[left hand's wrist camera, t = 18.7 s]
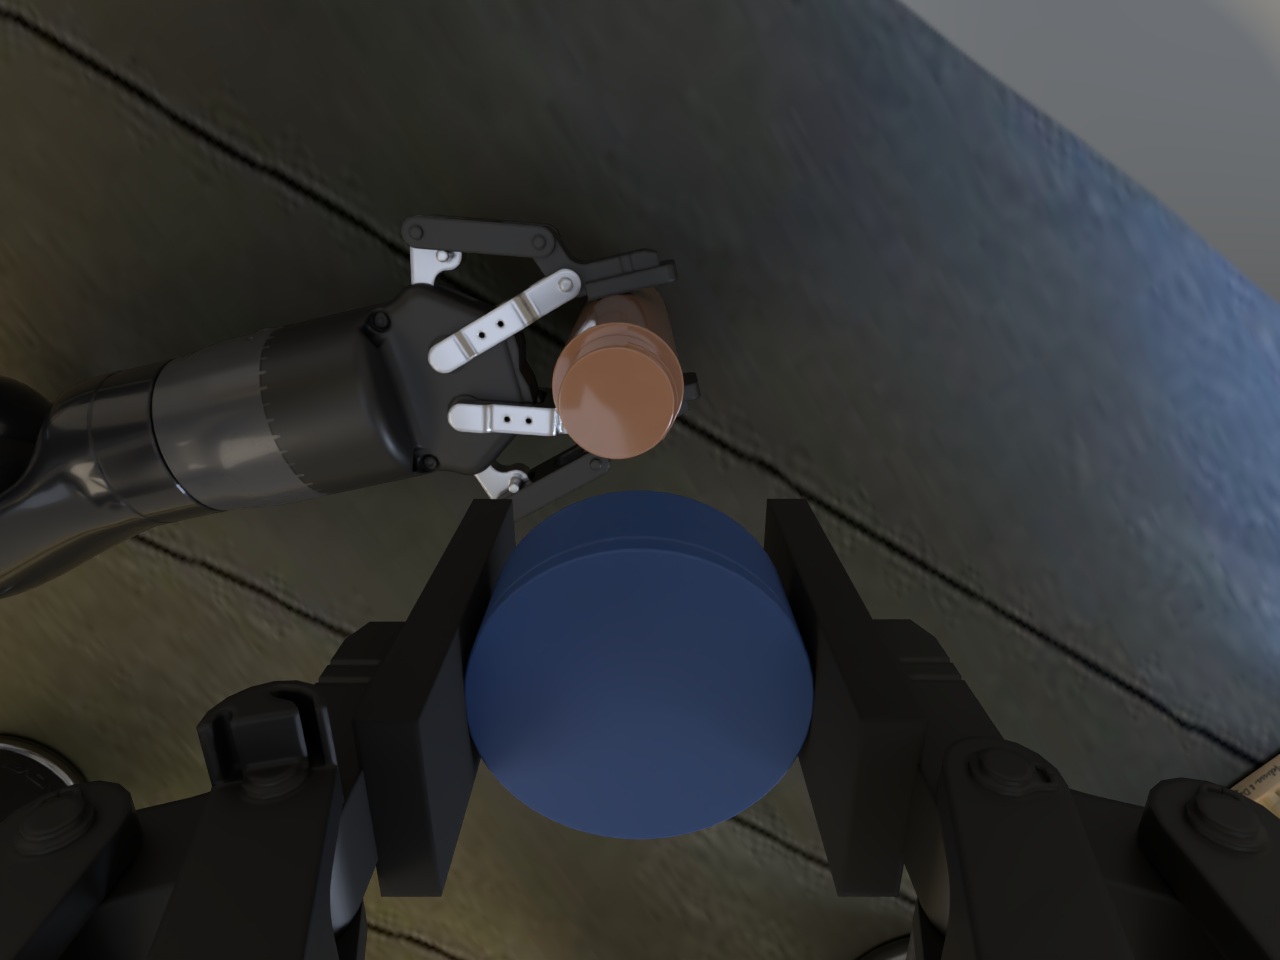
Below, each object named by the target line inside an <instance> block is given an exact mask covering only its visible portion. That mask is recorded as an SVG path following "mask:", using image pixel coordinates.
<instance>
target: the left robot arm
mask: <svg viewBox="0 0 1280 960" xmlns="http://www.w3.org/2000/svg"><path fill="white" fill-rule="evenodd" d="M515 548H516V545H515V531H514V516H513V501H512V499H474V500H473V502H472V503H471V505H470V507H469V509H468V511H467V512H466V514H465V516H464V518H463V520H462V521H461V523H460V525H459V527H458V528H457V530H456V532H455V534H454V536H453V537H452V539H451V541H450V543H449V545H448V546H447V548H446V550H445V552H444V554H443V555H442V557H441V559H440V561H439V563H438V564H437V566H436V568H435V570H434V572H433V573H432V575H431V577H430V579H429V581H428V582H427V584H426V586H425V588H424V590H423V591H422V593H421V595H420V597H419V599H418V600H417V602H416V604H415V606H414V608H413V609H412V611H411V613H410V615H409V617H408V618H407V620H406V622H369V623H367V624H366V625H365V626H363V627H362V628H360V629H359V630H358V631H356V632H355V633H354V634H352V635H351V636H349V637H348V638H347V639H345V640H344V642H343V643H342V645H341V646H340V648H339V649H338V651H337V652H336V654H335V655H334V657H333V658H332V659H331V663H330V665H327V667H326V668H325V670H324V671H323V673H322V674H321V676H320V677H319V682H318V683H315V685H313V684H309V683H305V682H301V681H297V680H295V681H273V682H269V683H265V684H261V685H257V686H253V687H249V688H247V689H245V690H243V691H241V692H238V693H236V694H234V695H232V696H229V697H227V698H226V699H224V700H223V701H222V702H220V703H219V704H218V705H216V706H215V707H213V708H212V709H211V710H209V711H208V712H207V713H206V715H205V716H204V717H203V719H202V720H201V721H200V723H199V724H198V725H197V727H196V728H197V731H198V735H199V739H200V743H201V746H202V750H203V754H204V758H205V761H206V765H207V769H208V773H209V776H210V780H211V784H212V789H211V791H210V792H207V793H204V794H201V795H197V796H194V797H191V798H187V799H182V800H178V801H173V802H169V803H165V804H160V805H156V806H152V807H147V808H143V809H139V810H135V807H134V804H133V801H132V798H131V794H130V793H129V792H128V791H127V790H126V789H125V788H124V787H122V786H121V785H120V784H118V783H111V782H105V781H93V782H86V783H79V784H73V785H70V786H67V787H64V788H61V789H58V790H55V791H53V792H50V793H47V794H44V795H43V796H41V797H39V798H37V799H35V800H33V801H31V802H30V803H28V804H26V805H24V806H22V807H20V808H18V809H17V810H16V811H14V812H13V813H12V814H10V815H9V816H8V817H7V818H5V819H4V820H3V821H2V822H0V960H365V949H366V939H367V928H368V926H367V919H366V913H365V907H364V901H363V896H364V894H365V891H366V889H367V886H368V884H369V881H370V879H371V876H372V874H373V871H374V869H375V866H376V868H377V874H378V880H379V886H380V891H381V897H441V896H442V892H443V889H444V885H445V882H446V878H447V875H448V871H449V868H450V864H451V861H452V857H453V854H454V850H455V847H456V843H457V840H458V836H459V833H460V829H461V826H462V822H463V819H464V815H465V812H466V808H467V805H468V801H469V798H470V794H471V791H472V787H473V784H474V780H475V777H476V773H477V770H478V766H479V763H480V759H481V756H480V754H479V753H478V751H477V748H476V746H475V744H474V742H473V739H472V737H471V735H470V731H469V727H468V722H467V713H466V703H465V693H464V676H465V671H466V666H467V661H468V658H469V655H470V652H471V650H472V647H473V644H474V642H475V639H476V636H477V634H478V631H479V628H480V626H481V623H482V620H483V618H484V615H485V612H486V610H487V607H488V604H489V602H490V599H491V596H492V594H493V591H494V588H495V586H496V583H497V580H498V578H499V575H500V573H501V570H502V568H503V567H504V565H505V563H506V561H507V560H508V558H509V556H510V554H511V553H512V552H513V551H514V549H515ZM764 550H765V552H766V553H767V554H768V556H769V558H770V560H771V561H772V563H773V565H774V566H775V568H776V570H777V573H778V575H779V578H780V580H781V583H782V585H783V588H784V591H785V593H786V596H787V599H788V601H789V604H790V607H791V609H792V612H793V615H794V617H795V620H796V623H797V626H798V628H799V631H800V634H801V636H802V639H803V642H804V645H805V647H806V650H807V652H808V655H809V659H810V663H811V667H812V672H813V677H814V705H813V715H812V719H811V723H810V727H809V731H808V734H807V736H806V739H805V741H804V743H803V746H802V748H801V751H800V752H799V754H798V757H799V761H800V764H801V768H802V771H803V775H804V778H805V782H806V785H807V789H808V792H809V796H810V799H811V803H812V806H813V810H814V813H815V817H816V820H817V824H818V827H819V831H820V834H821V838H822V841H823V845H824V848H825V852H826V855H827V859H828V862H829V866H830V869H831V873H832V876H833V880H834V883H835V887H836V890H837V894H838V897H898V895H899V889H900V883H901V877H902V872H903V866H904V864H905V866H906V869H907V871H908V874H909V876H910V879H911V881H912V884H913V886H914V889H915V891H916V894H917V901H916V907H915V912H914V918H913V923H912V928H911V934H910V937H907V938H903V939H900V940H897V941H894V942H891V943H888V944H886V945H883V946H881V947H879V948H877V949H875V950H873V951H871V952H870V953H868V954H866V955H865V956H863V957H862V958H860V959H859V960H1280V819H1279V818H1278V817H1277V816H1276V815H1274V814H1273V813H1272V812H1270V811H1269V810H1268V809H1267V808H1265V807H1264V806H1263V805H1261V804H1259V803H1257V802H1255V801H1253V800H1251V799H1250V798H1248V797H1246V796H1244V795H1242V794H1240V793H1238V792H1237V791H1234V790H1231V789H1228V788H1226V787H1223V786H1220V785H1217V784H1214V783H1211V782H1208V781H1203V780H1196V779H1188V778H1174V779H1168V780H1162V781H1160V782H1159V783H1158V784H1157V785H1156V786H1154V787H1153V788H1152V789H1151V790H1150V793H1149V796H1148V799H1147V802H1146V805H1145V807H1141V806H1137V805H1133V804H1128V803H1124V802H1120V801H1115V800H1111V799H1107V798H1102V797H1098V796H1093V795H1089V794H1086V793H1082V792H1079V791H1076V790H1072V789H1069V787H1068V785H1067V784H1066V782H1065V781H1064V779H1063V777H1062V776H1061V774H1060V773H1059V771H1058V770H1057V769H1056V768H1055V767H1054V766H1053V765H1051V764H1050V763H1049V762H1048V761H1047V760H1045V759H1044V758H1043V757H1042V756H1040V755H1039V754H1037V753H1035V752H1034V751H1032V750H1030V749H1028V748H1026V747H1024V746H1022V745H1020V744H1018V743H1015V742H1011V741H1007V740H1004V739H1003V737H1002V736H1001V734H1000V733H999V731H998V730H997V728H996V727H995V725H994V724H993V722H992V721H991V719H990V718H989V716H988V715H987V713H986V712H985V710H984V709H983V707H982V706H981V705H980V703H979V702H978V700H977V699H976V697H975V696H974V694H973V693H972V691H971V690H970V688H969V687H968V685H967V684H966V682H965V681H964V680H961V675H960V673H959V672H958V670H957V669H956V668H955V666H954V665H953V663H950V661H949V657H948V656H947V654H946V653H945V651H944V650H943V648H942V647H941V645H940V644H939V642H938V641H937V639H936V638H935V637H934V636H932V635H931V634H930V633H928V632H927V631H925V630H924V629H923V628H921V627H920V626H918V625H917V624H916V623H914V622H913V621H911V620H873V619H872V618H871V616H870V614H869V612H868V610H867V609H866V607H865V605H864V603H863V601H862V600H861V598H860V596H859V594H858V592H857V591H856V589H855V587H854V585H853V583H852V582H851V580H850V578H849V576H848V574H847V573H846V571H845V569H844V567H843V565H842V564H841V562H840V560H839V558H838V556H837V555H836V553H835V551H834V549H833V547H832V546H831V544H830V542H829V540H828V538H827V537H826V535H825V533H824V531H823V529H822V528H821V526H820V524H819V522H818V520H817V519H816V517H815V515H814V513H813V511H812V510H811V508H810V506H809V504H808V502H807V501H806V499H767V509H766V524H765V539H764Z"/></svg>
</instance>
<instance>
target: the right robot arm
mask: <svg viewBox="0 0 1280 960" xmlns="http://www.w3.org/2000/svg"><path fill="white" fill-rule="evenodd" d="M401 235H402V238H403V240H404V241H405V243H406V244H407V245H409V246H410V256H411V283H412V284H411V285H409V286H407V287H406V288H404V289H403V290H402V291H401V292H400V293H399V294H398V295H397V296H396V297H395V298H394V299H392V300H391V301H389V302H385V303H381V304H377V305H373V306H369V307H364V308H360V309H356V310H352V311H347V312H343V313H339V314H335V315H330V316H326V317H322V318H318V319H313V320H309V321H305V322H300V323H296V324H292V325H288V326H283V327H269V328H263V329H260V330H257V331H256V332H254V333H253V334H249V335H245V336H240V337H236V338H232V339H228V340H225V341H221V342H219V343H216V344H213V345H211V346H208V347H206V348H204V349H201V350H199V351H196V352H193V353H191V354H188V355H184V356H181V357H178V358H174V359H169V360H165V361H161V362H156V363H152V364H148V365H143V366H139V367H135V368H131V369H127V370H122V371H117V372H113V373H109V374H104V375H101V376H97V377H93V378H90V379H87V380H84V381H81V382H79V383H77V384H75V385H73V386H72V387H70V388H68V389H67V390H65V391H63V392H62V393H61V394H60V395H59V396H58V397H57V399H56V400H55V401H54V402H53V403H52V404H51V403H50V402H49V401H48V400H47V399H46V398H45V397H44V396H42V395H41V394H40V393H39V392H37V391H36V390H34V389H33V388H31V387H29V386H28V385H26V384H24V383H22V382H20V381H17V380H15V379H11V378H8V377H4V376H0V599H3V598H7V597H10V596H13V595H16V594H19V593H22V592H25V591H27V590H30V589H33V588H35V587H38V586H40V585H42V584H44V583H46V582H48V581H50V580H52V579H54V578H57V577H59V576H61V575H63V574H65V573H66V572H68V571H70V570H72V569H74V568H75V567H77V566H79V565H81V564H82V563H84V562H86V561H88V560H89V559H91V558H93V557H95V556H96V555H98V554H100V553H102V552H103V551H105V550H107V549H109V548H111V547H113V546H115V545H117V544H119V543H121V542H123V541H125V540H127V539H130V538H131V537H133V536H135V535H137V534H139V533H141V532H143V531H145V530H148V529H150V528H152V527H155V526H159V525H164V524H168V523H173V522H177V521H181V520H186V519H190V518H195V517H200V516H204V515H209V514H214V513H218V512H223V511H227V510H234V509H241V508H254V507H268V506H277V505H283V504H288V503H293V502H298V501H303V500H307V499H312V498H317V497H321V496H326V495H331V494H336V493H340V492H345V491H350V490H354V489H359V488H363V487H368V486H373V485H377V484H382V483H387V482H392V481H396V480H401V479H406V478H411V477H415V476H420V475H424V474H428V473H432V472H437V471H451V472H456V473H459V474H463V475H474V476H475V477H476V478H477V480H478V481H479V483H480V484H481V486H482V487H483V489H484V490H485V491H486V493H487V494H488V496H489V497H490V499H512V501H513V516H514V522H516V521H518V520H520V519H522V518H524V517H526V516H528V515H530V514H531V513H533V512H535V511H537V510H539V509H541V508H543V507H545V506H546V505H548V504H550V503H552V502H554V501H556V500H558V499H560V498H561V497H563V496H565V495H567V494H569V493H571V492H573V491H575V490H576V489H578V488H580V487H582V486H584V485H586V484H588V483H590V482H591V481H593V480H595V479H597V478H599V477H601V476H603V475H604V474H606V473H607V471H608V470H609V466H610V459H609V458H604V457H599V456H597V455H594V454H592V453H590V452H588V451H586V450H585V449H583V448H582V447H580V446H579V445H578V444H576V445H575V446H573V447H571V448H569V449H567V450H565V451H564V452H562V453H560V454H558V455H556V456H554V457H553V458H551V459H549V460H547V461H545V462H543V463H542V464H540V465H538V466H536V467H534V468H532V469H531V470H530V468H529V467H528V466H526V465H525V464H522V463H515V464H512V465H508V466H506V465H502V464H499V463H498V462H497V461H496V460H495V459H496V458H497V457H498V456H499V455H500V454H501V452H502V451H503V450H504V449H505V448H506V447H507V446H508V444H509V443H510V442H511V441H512V440H513V439H514V437H515V436H516V435H517V434H528V435H541V436H555V435H558V434H568V433H567V431H566V430H565V428H564V426H563V424H562V421H561V418H560V416H559V414H558V412H557V409H556V406H555V403H554V399H553V394H552V388H545V387H538V384H537V381H536V377H535V375H534V373H533V371H532V370H531V368H530V366H529V364H528V363H527V361H526V347H525V338H524V334H523V331H522V329H524V328H525V327H527V326H529V325H530V324H532V323H533V322H535V321H536V320H537V319H539V318H541V317H542V316H544V315H546V314H547V313H549V312H551V311H552V310H554V309H556V308H558V307H559V306H561V305H563V304H564V303H566V302H568V301H569V300H571V299H575V298H579V297H583V296H588V300H589V301H591V300H596V299H600V298H604V297H608V296H612V295H618V294H622V293H626V292H631V291H635V290H639V289H644V288H648V287H652V286H657V285H661V284H666V283H670V282H673V281H676V280H678V276H677V271H676V265H675V261H674V260H673V259H672V260H665V261H661V262H659V257H658V252H657V250H651V249H645V248H643V249H639V250H635V251H631V252H626V253H622V254H618V255H613V256H609V257H605V258H601V259H596V260H592V261H580V260H578V259H576V258H574V257H573V256H572V255H571V254H570V252H569V251H568V249H567V248H566V246H565V245H564V243H563V242H562V240H561V237H560V234H559V232H558V230H557V229H556V228H555V227H554V226H552V225H550V224H543V223H530V222H518V221H505V220H493V219H480V218H468V217H456V216H443V215H419V216H411V217H409V218H407V219H406V220H405V221H404V222H403V224H402V226H401ZM467 253H478V254H491V255H503V256H516V257H529V258H533V259H534V261H535V262H536V264H537V265H538V267H539V268H540V270H541V271H542V273H543V274H544V276H545V277H544V278H542V279H540V280H539V281H537V282H535V283H534V284H532V285H530V286H528V287H527V288H525V289H523V290H521V291H520V292H518V293H516V294H515V295H513V296H511V297H510V298H508V299H506V300H505V301H503V302H501V303H500V304H498V305H496V306H493V305H490V304H488V303H486V302H483V301H481V300H479V299H476V298H474V297H472V296H469V295H467V294H464V293H462V292H460V291H457V290H455V289H453V288H450V287H448V286H446V285H443V284H441V283H439V280H440V276H441V274H442V273H443V272H444V271H445V270H451V269H454V268H457V267H459V266H461V265H462V264H463V263H464V262H465V260H466V255H467ZM683 380H684V394H683V401H682V404H681V408H680V410H679V413H678V415H677V417H679V416H680V415H682V414H683V413H685V412H687V411H688V410H689V406H688V401H691V400H694V399H697V398H699V397H700V396H701V394H700V389H699V384H698V379H697V376H696V373H693V372H690V373H683ZM537 400H539V401H540V402H537ZM530 419H531V420H530ZM79 783H85V781H84V780H83V778H82V777H81V775H80V774H79V773H78V772H77V771H76V769H75V768H74V767H73V766H72V765H70V764H69V763H68V762H67V761H66V760H65V759H63V758H62V757H60V756H59V755H58V754H56V753H54V752H53V751H51V750H49V749H47V748H45V747H43V746H41V745H39V744H37V743H34V742H31V741H28V740H25V739H21V738H16V737H11V736H1V735H0V822H2V821H3V820H4V819H5V818H7V817H8V816H9V815H10V814H12V813H13V812H14V811H16V810H17V809H18V808H20V807H22V806H24V805H26V804H28V803H30V802H31V801H33V800H35V799H37V798H39V797H41V796H43V795H44V794H47V793H50V792H53V791H55V790H58V789H61V788H64V787H67V786H70V785H73V784H79Z"/></svg>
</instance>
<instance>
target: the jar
mask: <svg viewBox="0 0 1280 960" xmlns="http://www.w3.org/2000/svg"><path fill="white" fill-rule="evenodd" d="M552 394H553V399H554V403H555V406H556V409H557V412H558V414H559V416H560V418H561V421H562V424H563V426H564V428H565V430H566V431H567V433H568V434H569V436H570V437H571V438H572V439H573V440H574V441H575V442H576V443H577V444H578V445H579V446H580V447H582V448H583V449H585V450H586V451H588V452H590V453H592V454H594V455H597V456H599V457H604V458H609V459H625V458H630V457H634V456H637V455H640V454H642V453H644V452H646V451H648V450H649V449H652V448H653V447H654V446H655V445H656V444H658V443H659V442H660V441H661V440H663V439H664V437H665V436H666V434H667V433H668V431H669V430H670V428H671V427H672V425H673V422H674V420H675V418H676V417H677V415H678V413H679V410H680V408H681V404H682V401H683V394H684V380H683V374H682V370H681V366H680V362H679V357H678V353H677V349H676V345H675V341H674V337H673V333H672V329H671V325H670V321H669V317H668V313H667V309H666V305H665V302H664V300H663V298H662V296H661V295H660V293H659V292H658V291H657V290H656V289H655V288H654V287H653V286H652V287H648V288H644V289H639V290H635V291H631V292H626V293H622V294H618V295H612V296H608V297H604V298H600V299H596V300H591V301H589V300H588V299H587V301H586V303H585V305H584V307H583V310H582V312H581V314H580V316H579V318H578V320H577V322H576V324H575V326H574V328H573V330H572V332H571V334H570V336H569V338H568V340H567V342H566V344H565V346H564V348H563V350H562V352H561V354H560V356H559V358H558V360H557V363H556V365H555V368H554V373H553V378H552Z"/></svg>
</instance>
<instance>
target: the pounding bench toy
mask: <svg viewBox="0 0 1280 960" xmlns="http://www.w3.org/2000/svg"><path fill="white" fill-rule="evenodd" d="M1231 790H1234V791H1237V792H1238V793H1240V794H1242V795H1244V796H1246V797H1248V798H1250V799H1251V800H1253V801H1255V802H1257V803H1259V804H1261V805H1263V806H1264V807H1265V808H1267V809H1268V810H1269V811H1270V812H1272V813H1273V814H1274V815H1276V816H1277V817H1278V818H1279V819H1280V754H1279V755H1278V756H1276V757H1275V758H1273V759H1272V760H1270V761H1269V762H1268V763H1266V764H1265V765H1263V766H1262V767H1260V768H1259V769H1258V770H1256V771H1255V772H1253V773H1252V774H1250V775H1249V776H1248V777H1246V778H1245V779H1243V780H1242V781H1241V782H1239V783H1238V784H1236V785H1235V786H1234V787H1232V788H1231Z"/></svg>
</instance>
